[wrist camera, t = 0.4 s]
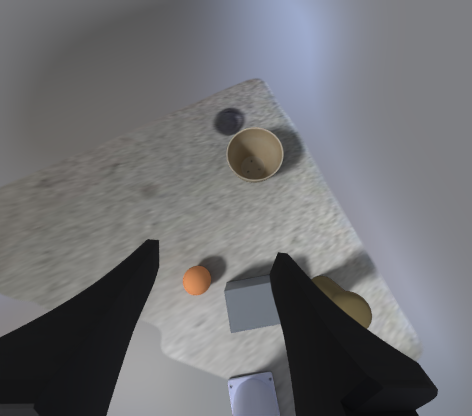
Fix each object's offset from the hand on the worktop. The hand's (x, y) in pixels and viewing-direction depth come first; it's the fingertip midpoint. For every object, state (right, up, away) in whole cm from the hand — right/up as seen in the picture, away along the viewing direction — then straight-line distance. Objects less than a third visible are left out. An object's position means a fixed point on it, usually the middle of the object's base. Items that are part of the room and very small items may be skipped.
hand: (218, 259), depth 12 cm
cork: (+17, -13, +24) cm, 33 cm away
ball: (-6, -10, +23) cm, 26 cm away
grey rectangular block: (+5, -13, +25) cm, 28 cm away
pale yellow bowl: (+5, +12, +29) cm, 31 cm away
